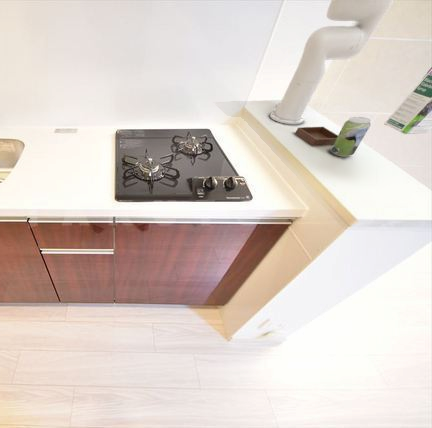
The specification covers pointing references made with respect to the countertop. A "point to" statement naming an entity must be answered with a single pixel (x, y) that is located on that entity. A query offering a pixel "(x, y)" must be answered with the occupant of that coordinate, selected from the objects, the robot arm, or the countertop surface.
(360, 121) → the beverage can
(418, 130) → the syrup box
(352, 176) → the countertop surface
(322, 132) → the tray
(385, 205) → the countertop surface
